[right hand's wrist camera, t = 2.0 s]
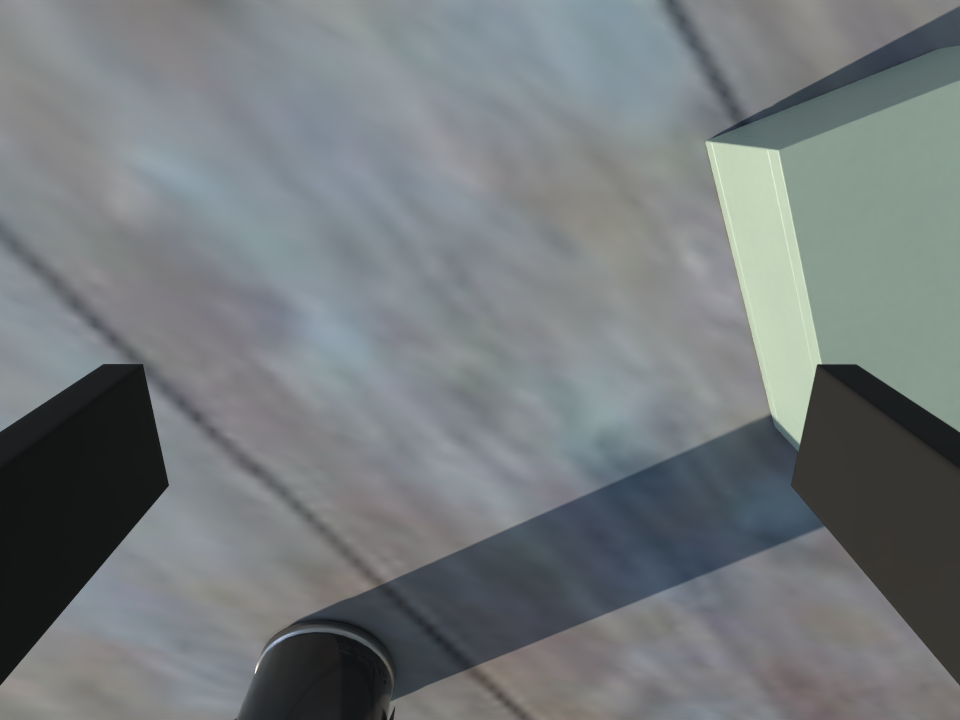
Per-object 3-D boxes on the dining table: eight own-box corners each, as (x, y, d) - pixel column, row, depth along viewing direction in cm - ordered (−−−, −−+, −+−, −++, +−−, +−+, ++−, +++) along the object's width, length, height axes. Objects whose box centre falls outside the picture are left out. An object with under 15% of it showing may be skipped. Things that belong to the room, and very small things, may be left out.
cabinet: (973, 361, 35) (1108, 429, 27) (773, 426, 36) (850, 507, 29) (940, 47, 29) (1101, 25, 21) (704, 140, 30) (777, 150, 23)
